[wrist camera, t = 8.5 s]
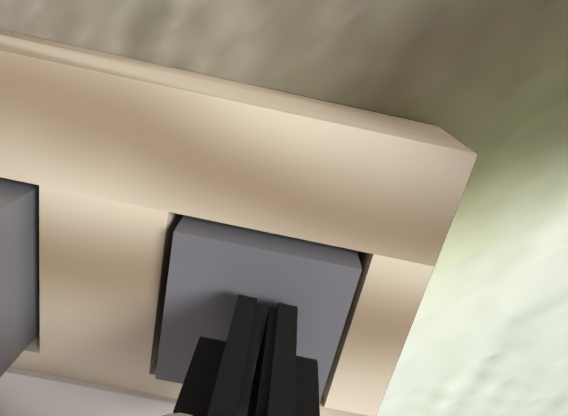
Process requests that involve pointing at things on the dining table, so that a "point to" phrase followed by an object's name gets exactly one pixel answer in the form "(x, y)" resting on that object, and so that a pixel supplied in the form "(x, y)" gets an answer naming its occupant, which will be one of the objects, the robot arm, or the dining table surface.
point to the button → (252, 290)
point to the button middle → (18, 269)
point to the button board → (204, 214)
